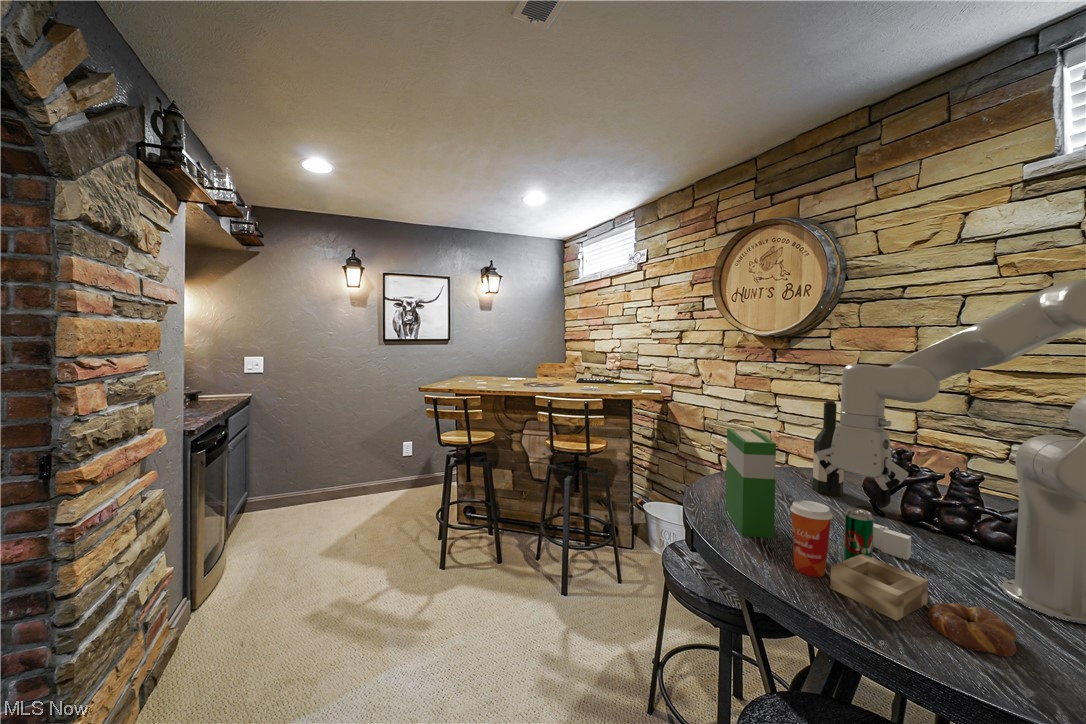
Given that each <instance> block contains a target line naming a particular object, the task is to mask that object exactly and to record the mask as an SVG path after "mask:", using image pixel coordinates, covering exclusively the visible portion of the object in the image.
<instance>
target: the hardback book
mask: <svg viewBox="0 0 1086 724" xmlns="http://www.w3.org/2000/svg"><path fill="white" fill-rule="evenodd" d="M776 459H777V443H776V442H775V441H773V440H772V439H770V438H769V437H767V436H765V435H764V434H762V433H761V432H760V431H758V430H756V429H755V428H750V431H744V430H743V431H742V430H741V431H738V430H737V431H736V430H733V429H732V428H730V427H726V462H725V463H726V464H725V467H726V469H725V474H726V475H725V510H726V512H727V511H728V512H727V514H728V513H729V514H728V515H729V517H730V516H731V517H730V518H731V520H732V522H733V521H734V522H733V523H734V525H735V527H736V528H737V530H738V531H739V533H740V534H741V536H742V537H752V538H766V539H775V517H776V515H775V506H776V472H777V471H776V466H777V463H776V462H777V460H776Z"/></svg>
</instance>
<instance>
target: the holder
mask: <svg viewBox="0 0 1086 724" xmlns="http://www.w3.org/2000/svg"><path fill="white" fill-rule="evenodd" d="M829 588H830V589H832V590H834V591H835V592H837V593H840V594H841V595H844V596H846V597H847V598H850V599H851V600H854V601H855V602H857V603H859V604H862V605H864V606H866V607H868V608H870V609H871V610H873V611H875V612H878V613H880V614H882V615H883V616H886V617H888V618H890V619H892V620H894V621H896V622H898V621H899V620H901V619H902V618H904V617H906V616H908V615H909V614H911V613H913V612H916V611H917V610H919V609H920V608H922V607H924V606H925V604H926V605H927V604H928V598H929V597H928V594H929V591H928V590H929V579H926V578H924V577H921V576H918V575H916V574H913V573H911V572H909V571H906V570H903V569H902V568H899V567H897V566H894V565H892V564H888V563H886V562H883V561H882V560H879V559H876V558H874V557H873V556H872V557H869V556H867V555H864V554H860V555H857V556H855V557H852V558H850V559H847V560H845V561H844V560H843V561H840V562H837V563H835V564H833V565H831V566H830V585H829ZM923 605H924V606H923ZM918 608H919V609H918Z"/></svg>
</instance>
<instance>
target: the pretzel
mask: <svg viewBox="0 0 1086 724" xmlns="http://www.w3.org/2000/svg"><path fill="white" fill-rule="evenodd" d="M927 615H928V619H929V620H928V621H929V622H930V624H931V626H932V627H933V628H934V629H935V630H936V631H937V632H938V633H940V634H941V635H943V636H944V637H946V638H948V639H949V640H951V641H952V642H954V643H956V644H957V645H960V646H961V645H962V646H961V647H964V648H966V647H967V648H966V649H968V648H969V649H968V650H971V649H972V650H971V651H974V650H976V651H975V652H979V651H982V652H981V653H987V652H988V653H991V652H992V653H991V654H993V653H994V654H993V655H995V654H996V655H995V656H998V655H999V656H998V657H1003V656H1006V657H1005V658H1007V657H1008V656H1009V657H1013V656H1014V655H1015V654H1016V653H1017V651H1018V650H1017V645H1016V644H1015V643H1016V641H1017V638H1018V635H1017V632H1016V631H1015V629H1014V627H1012V626H1011V625H1010V624H1009V623H1007V622H1006V621H1005V620H1003V619H1002V618H1001V617H999V616H998V615H997V614H995V613H994V612H993V611H991V610H988V609H986V608H984V607H979V606H970V607H969V606H968V607H967V606H966V605H964V604H961V603H956V602H955V603H954V602H951V603H950V602H949V603H943V602H940V603H939V602H938V603H933V604H930V606H929V607H928V610H927ZM1009 657H1008V658H1009Z"/></svg>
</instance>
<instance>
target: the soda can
mask: <svg viewBox="0 0 1086 724" xmlns="http://www.w3.org/2000/svg"><path fill="white" fill-rule="evenodd" d="M874 524H875V523H874V517H873V514H872V512H870V511H868V510H866V509H864V508H863V509H862V508H857V507H848V508H847V509H846V511H845V512H844V528H843V557H842V558H843V561H845V560H847V559H850V558H852V557H855V556H857V555H860V554H864V555H867V556H869V557H872V558H873V550H874V549H873V548H874V547H873V526H874Z"/></svg>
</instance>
